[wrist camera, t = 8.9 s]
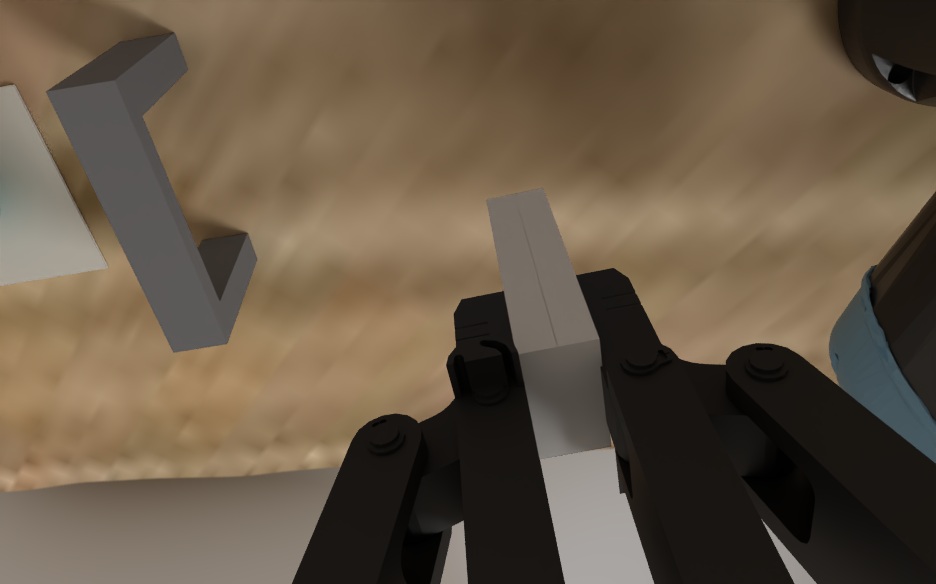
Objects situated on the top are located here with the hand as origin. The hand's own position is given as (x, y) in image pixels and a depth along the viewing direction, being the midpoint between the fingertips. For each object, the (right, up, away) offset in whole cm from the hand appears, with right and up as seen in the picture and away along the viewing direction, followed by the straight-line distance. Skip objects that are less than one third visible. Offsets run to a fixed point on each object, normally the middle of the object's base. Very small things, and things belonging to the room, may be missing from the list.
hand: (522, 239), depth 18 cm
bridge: (-18, +6, +23) cm, 30 cm away
